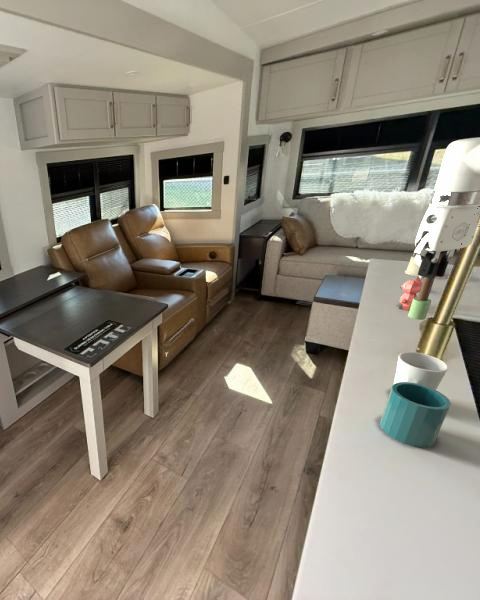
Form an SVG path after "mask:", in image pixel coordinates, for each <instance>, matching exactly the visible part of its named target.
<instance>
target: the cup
mask: <svg viewBox="0 0 480 600" xmlns="http://www.w3.org/2000/svg"><path fill="white" fill-rule="evenodd" d="M448 370H449V365H448V364H447V363H446V362H445V361H443V360H442V359H440V358H438V357H436V356H433V355H430V354H426V353H422V352H416V351H405V352H401V353H399V354H398V358H397V364H396V371H395V375H394V380H393V385H394V384H396V383H399V382H410V383H416V384H421V385H424V386H427V387H430V388H432V389H434V390H436V391H437V389H438V387H439V385H440V384H441V382H442V380H443V379H444V377H445V375H446V373H447V372H448ZM393 385H392V386H393Z"/></svg>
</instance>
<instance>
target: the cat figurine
mask: <svg viewBox="0 0 480 600" xmlns="http://www.w3.org/2000/svg"><path fill="white" fill-rule="evenodd" d="M422 282H423V280H422V281H421V279H420V277H419V276H418V277H416V279H409V280H407V281H405V282H404V283H403V284H402V285H401V286H400V290H402V291H403V292H404V293H403V294H402V295H401V296H400V297H399V303H400V304H401V306H400V307H398V309H399V310H402V311H409V310H410V307H411V304H412V301H413V298H415V297H418V295H417V294H419V292H420V288H421V285H422Z"/></svg>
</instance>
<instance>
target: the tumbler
mask: <svg viewBox="0 0 480 600" xmlns="http://www.w3.org/2000/svg"><path fill="white" fill-rule="evenodd" d="M393 384H394V383H393ZM451 406H452V402H451V400H450V399H449V398H448V396H446V395H445V394H443V393H442V392H441V391H439V390H437V389H436V390H434V389H432V388H430V387H427V386H424V385H421V384H416V383H410V382H399V383H396V384H394V385H392V386H391V388H390V391H389V394H388V397H387V400H386V403H385V405H384V409H383V412H382V415H381V417H380V421H379V427H380V428H381V429H382V431H383V432H384V433H386V435H388V436H389V437H391V438H392V439H394V440H395V441H398V442H400V443H402V444H404V445H407V446H412V447H416V448H430V447H432V446H433V445H435V442H436V439H437V437H438V435H439V433H440V431H441V428H442V426H443V423H444V421H445V419H446V417H447V415H448V412H449V410H450V408H451Z"/></svg>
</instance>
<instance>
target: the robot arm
mask: <svg viewBox="0 0 480 600" xmlns="http://www.w3.org/2000/svg"><path fill="white" fill-rule="evenodd" d="M428 205H429V206H428V208H427V210H426V211H425V214H424V216H423V218H422V221H421V223H420V225H419V228H418V231H417V234H416V236H415V240H414V246H415V249H416V250H415V249H414V251H413V254H415V255H416V254H417V255H420V257H421V258H420V260H422V262H421V265H420V268H419V271H418V275H419V276H423V278H424V277H427V278H434V277H435V278H436V277H438V278H442V277H444V276H445V274H446V271H447V268H448V265H449V263H450V262H449V261H452V259H453V256H454V254H456V252H457V251H459V250H461V249H463V248H464V249H465V248H468V247H469V246H471V245H472V243H473V241H474V238H475V235H476V231H477V228H478V225H479V221H480V207H478V206H480V137H479V136H478V137H469V138H463V139H457V140H454V141H452V142H450V143H449V144H448V145H447V147H446V149H445V152H444V154H443V158H442V161H441V165H440V168H439V172H438V175H437V179H436V182H435V185H434V188H433V192H432V195H431V197H430V202H429V204H428ZM477 208H478V209H477ZM474 214H475V215H474ZM469 224H470V225H469ZM467 227H468V228H467ZM464 235H465V236H464ZM461 243H462V245H461ZM416 247H417V248H416ZM460 248H461V249H460ZM429 251H430V252H429ZM431 252H434V253H433V254H432V253H431ZM440 254H443V255H442V258H441V261H440V264H439V263H438V262H437V261H438V258H439V255H440ZM438 266H439V267H438ZM437 269H438V270H437ZM436 272H437V273H436ZM435 275H436V276H435Z"/></svg>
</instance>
